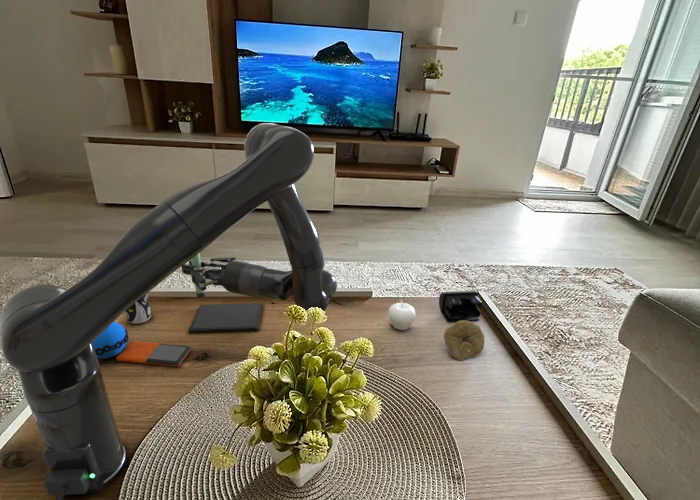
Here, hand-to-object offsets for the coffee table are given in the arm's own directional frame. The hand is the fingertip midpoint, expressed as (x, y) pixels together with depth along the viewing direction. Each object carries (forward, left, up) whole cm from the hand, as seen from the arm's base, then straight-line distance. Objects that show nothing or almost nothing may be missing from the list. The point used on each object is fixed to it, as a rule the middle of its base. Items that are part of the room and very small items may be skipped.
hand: (186, 266), depth 95 cm
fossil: (-13, -66, -18) cm, 70 cm away
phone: (-10, +7, -18) cm, 22 cm away
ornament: (-9, +17, -18) cm, 27 cm away
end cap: (+2, -71, -18) cm, 73 cm away
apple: (-2, -53, -18) cm, 56 cm away
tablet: (+4, -7, -18) cm, 20 cm away
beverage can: (+5, +16, -18) cm, 25 cm away
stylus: (-1, -3, -7) cm, 8 cm away
